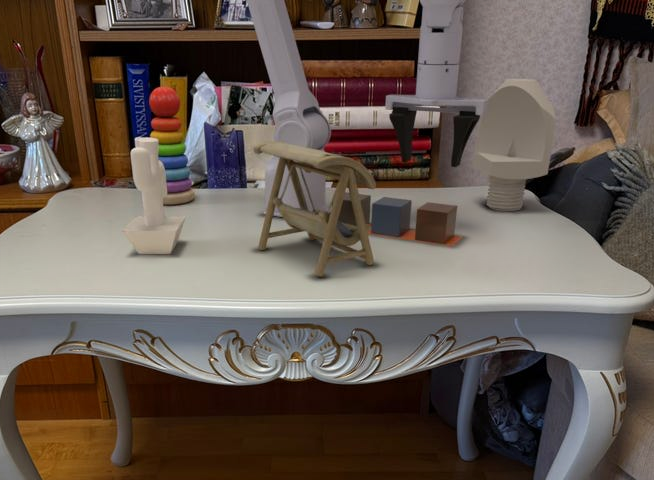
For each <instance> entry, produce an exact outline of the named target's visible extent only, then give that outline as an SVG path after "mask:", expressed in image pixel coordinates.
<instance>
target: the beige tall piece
mask: <svg viewBox="0 0 654 480" xmlns="http://www.w3.org/2000/svg"><path fill="white" fill-rule="evenodd" d="M556 124H557V117H556V113H555V110H554V107H553V105H552V103H551V101H550V100H549V97H548V96H547V94H546V93H545V91H544V89H543V88H542V87H541V84H540V83H539V81H538V80H537V79H535V78H506V79H505V80H504V81H503V83H502V84H500V85H499V87H498V88H497V89H496V90H495V91H494V93H493V94H491V96H490V97H489V98H488V104H487V112H486V114H484V115H480V119H479V121H478V122H477V129H476V130H477V131H476V139H475V146H474V147H475V148H474V149H475V150H474V155H473V156H474V157H473V166H474V168H475V169H476V170H477V172H478V173H479V174H481V175H482V176H485V177H489V180H490V181H488V183H489V185H488V189H487V199H486V206H487V207H488V208H490V209H492V210H495V211H502V212H515V211H519V210H521V209H522V207H523V205H524V204H523V203H524V198H525V197H524V195H525V191H526V189H525V188H526V184H527V180H528V179H530V180H531V179H534V178H535V179H536V178H540V177H543V176H547V175H548V174H549V168H550V161H551V155H552V149H553V143H554V137H555V131H556Z"/></svg>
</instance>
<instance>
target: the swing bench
mask: <svg viewBox="0 0 654 480" xmlns="http://www.w3.org/2000/svg"><path fill="white" fill-rule="evenodd" d="M252 149H253V152H254V153H255V154H257V155H260V154H261V155H262V154H265V155H269V156H272V157H275V156H276V157H280V158H279V162H278V166H277V170H276V174H275V178H274V182H273V187H272V191H271V195H270V199H269V203H268V207H267V211H266V210H265V211H266V215H265V214H264V220H263V224H262V229H261V233H260V237H259V243H258V250H260V251H265V250H266V249H267V245H268V240H269V239H271V238H277V237H282V236H287V235H293V234H298V233H303V232H306V233H307V236H308V239H309V240H310V241H314V240H318V241H321V242H322V244H321V249H320V253H319V256H318V259H317V264H316V267H315V272H314V274H315V276H316V277H319V278H321V277H323V275H324V273H325V269H326V266H327V264H329V263H333V262H338V261H339V262H340V261H342V260H348V259H353V258H356V257H358V258H360V259H362V260H364V261H365V264H366V265H367V266H373V265H374V263H375V259H374V255H373V251H372V245H371V242H370V237H369V234H368V233H367V232H368V231H369V230H370V225H369V224H365V219H364V215H363V210H362V206H361V201H360V197H359V194H360V192H359V188H358V184H359V185H360V186H365V188H366V189H368V190H369V189H370V190H375V189H376V188H377V183H376V180H375V179H374V177H373V174H371V172H370V170H369V169H368V168H367V167H365V166H364V165H363V164H362V163H360V162H359V161H358V160H356V159H353V158H351V157H346V156H342V155H339V154H334V153H330V152H326V151H325V150H324V151H320V150H315V149H310V148H304V147H301V146H296V145H291V144H287V143H283V142H277V141H274V140H270V141H264V142H261V143H258V144H256V145H254V146H253V147H252ZM293 160H295V161H299V162H300V163H296V162H294V161H293ZM286 165H287V168H288V171H289V173H288V177H287V180H286V184H285V187H284V189H283V192H282V195H281V197H280V198H278V195H279V191H280V187H281V183H282V179H283V174H284V170H285V166H286ZM295 167H296V168H299V169H300V172H301V176H302V178H303V181H304V184H305V186H306V189H307V192H308V195H309V199H310V201H311V204H312V207H313V211H312V212H310V211H309V210H308V207H307V203H306V200H305V197H304V194H303V190H302V187H301V184H300V180H299V177H298V174H297V170H296V168H295ZM302 169H304V171H305V172H307V173H311V172H314V173H318V174H321V175H325V176H326V177H329V178H333V179H337V180H338V182H337V185H336V186H335V189H334V193H333V195H332V198H331V201H330V203H329V206H328V207H329V208H328V210H327V212H326V211H320V210H318V209H315V207H314V205H313V201H312V198H311V196H310V192H309V189H308V186H307V184H306V180H305V178H304V175H303V172H302ZM290 177H291V180H292V183H293V187H294V190H295V193H296V196H297V200H298V203H299V206H300V208H294V207H292V206H289V205H287V204H284V203H283V202H282V198H283V196H284V193H285V191H286V188H287V185H288V182H289V178H290ZM347 188H348V193H349V194H350V199H351V202H352V206H353V211H354V215H355V219H356V223H357V226H354V225H350V224H344V223H342V222H340V221H338V217H339V214H340V210H341V206H342V202H343V198H344V194H345V192H346V190H347ZM332 203H333V205H332ZM275 207H276V208H277V209H278V211H279V212H280V214H281V215H282V217H281V218H283V220H284V221H285V222H286V224H287V225H288V226H289V227H290V228H287V229H282V230H277V231H271V232H270V230H271V227H272V223H273V218H274V216H273V215H274V210H275ZM331 207H332V209H331V213H329V210H330V208H331ZM359 241H360V244H361V248H362V249H360V250H359V249H356V248H353V247H351V246H354V245H355V244H357V243H358V242H359ZM331 247H334V248H337V249H339V250H341V251H343V252H345V253H341V254H334V255H330V251H331Z"/></svg>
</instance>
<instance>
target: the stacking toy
mask: <svg viewBox="0 0 654 480" xmlns="http://www.w3.org/2000/svg"><path fill="white" fill-rule="evenodd" d="M148 102H149V107H150V110H151V111H152V113H153V115H154V116H156V117H154V118H152V119H151V122H150V125H151V128H152V131H151V133H150V134H149V138H156V139H158V140H159V152H158V158H159V161H161V162H162V163H163V165H164V168H165V174H166V184H167V196H166V197H165V198H163V205H167V206H169V205H170V206H171V205H182V204H187V203H189V202H191V201H193V199H194V198H195V191H194V189H192V185H193V181H192V179H191V178H190V176H191V169H190V166H188V163H189V159H188V156H187V155H186V154H185V153H186V151H187V147H186V144H185V143H184V142H182V141H183V140H184V134H183V132H182V131H181V130H180V129H181V128H182V121H181V119H180V118H179V117H177V116H176V115H177V114H178V113H179V110H180V108H181V98H180V96H179V94H178V92H176V91H175V90H174V89H173V88H171V87H168V86H159V87H156V88H154V89H153V90H152V92H151V93H150V95H149V100H148Z"/></svg>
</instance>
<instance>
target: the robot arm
mask: <svg viewBox="0 0 654 480" xmlns="http://www.w3.org/2000/svg"><path fill="white" fill-rule="evenodd" d="M465 2H466V0H419V3H420V4H421V6H422V12H421V13H422V14H421V15H422V16H421V25H420V29H419V41H418V43H419V44H418V55H417V56H418V57H417V58H418V59H417V70H416V71H417V72H416V85H415V94H388V95H386V96H385V109H384V110H386V111H387V110H388V111H391V112H390V113H389V114H388V115H389V116H388V117H389V121H390V123H391V125H392V127H393V129H394V132H395V136H396V138H397V142H398V146H399V151H400V158H401V163H408V162H410V161H412V153H413V134H414V128H415V122H416V117H417V113H418V112H429V113H430V112H432V113H433V112H434V113H447V114H448V113H449V114H457V115H454V116H453V118H452V121H453V123H452V124H453V143H452V151H451V159H450V167H451V168H457V167H459V166H460V165H461V162H462V157H463V154H464V151H465V148H466V145H467V143H468V141H469V139H470V137H471V135H472V133H473V131H474V130H475V127H476V126H477V125H478V121H479V119H480V115H484V114H486V112H487V104H488V99H489V98H488V99H487V98H475V97H463V96H457V94H458V93H457V92H458V83H459V72H460V71H459V70H460V62H461V50H462V40H463V31H464V30H463V20H464V6H463V5H464V3H465ZM246 3H247V6H248V10H249V13H250V16H251V20H252V23H253V27H254V30H255V33H256V37H257V40H258V44H259V47H260V50H261V54H262V58H263V61H264V65H265V67H266V70H267V74H268V75H267V76H268V78H269V81H270V86H271V88H272V92H273V95H274V99H275V102H274V107H273V110H272V118H273V122H274V132H273V133H274V134H273V141H277V142H283V143H287V144H291V145H296V146H301V147H304V148H310V149H315V150H320V151H324V152H325V147H326V146H327V145H328V143H329V142H330V139H331V135H332V127H331V124H330V122H329V120H328V118H327V117H326V116H325V115H324V114H323V111H322V110H321V108H320V105H319V101H318V99H317V98H316V97H315V95H314V94H313V93H312V92H311V89H309V86H308V81H307V79H306V75H305V71H304V70H305V69H304V68H303V63H302V60H301V56H300V53H299V49H298V45H297V41H296V38H295V35H294V31H293V27H292V24H291V19H290V17H289V16H290V15H289V13H288V9H287V6H286V2H285V0H246ZM279 158H280V157H276V156H272V157H271V158H270V159H269V160H268V161H267V163H266V166H265V171H264V193H265V195H264V197H265V199H264V200H265V210H263V215H264V216H265V215H266V211H267V207H268V203H269V199H270V195H271V191H272V187H273V182H274V178H275V174H276V170H277V166H278V162H279ZM293 161H294V162H296V163H300V162H299V161H295V160H293ZM295 168H296V167H295ZM296 170H297V174H298V177H299V180H300V184H301V187H302V190H303V194H304V197H305V200H306V203H307V207H308V210H309V211H310V212H312V211H313V207H312V204H311V201H310V199H309V195H308V192H307V189H306V186H305V184H304V181H303V178H302V176H301V172H300V169H299V168H296ZM302 172H303V175H304V178H305V180H306V184H307V186H308V189H309V192H310V196H311V198H312V201H313V205H314V207H315V209H318V210H320V211H326V212H327V210H328V208H329V206H326V190H327V189H326V185H327V184H326V181H327V180H326V178H327V176H325V175H321V174H318V173H314V172H311V173H307V172H305V171H304V169H302ZM288 173H289V171H288V168H287V165H286V166H285V170H284V174H283V179H282V183H281V187H280V191H279V195H278V198H280V197H281V195H282V192H283V189H284V187H285V184H286V180H287V177H288ZM282 202H283V203H284V204H287V205H289V206H292V207H294V208H300V206H299V203H298V200H297V196H296V193H295V190H294V187H293V183H292V180H291V177H290V178H289V182H288V185H287V188H286V191H285V193H284V196H283V198H282ZM331 209H332V206H331V208H330V210H329V214H330V213H331ZM273 217H279V218H283V217H282V215H281V214H280V212H279V211H278V209H277V208H276V207H275V210H274V215H273Z"/></svg>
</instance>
